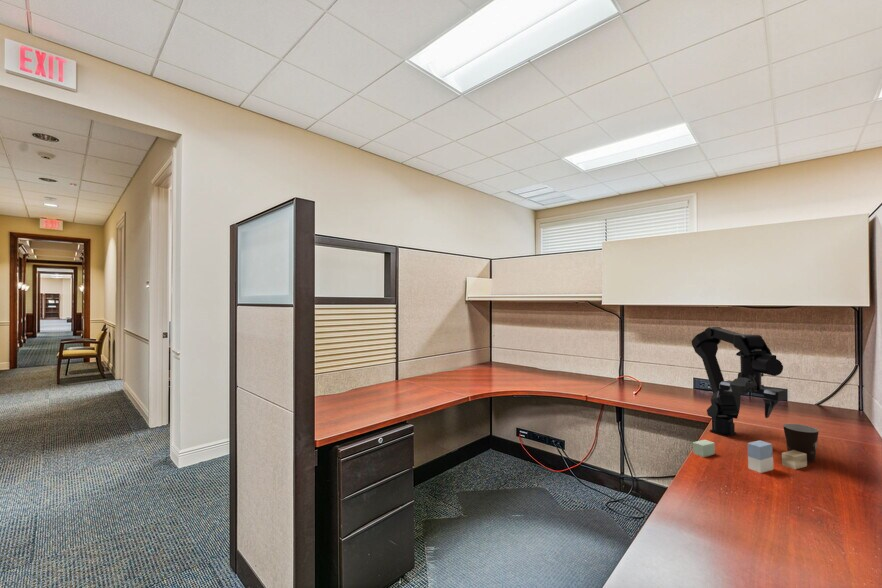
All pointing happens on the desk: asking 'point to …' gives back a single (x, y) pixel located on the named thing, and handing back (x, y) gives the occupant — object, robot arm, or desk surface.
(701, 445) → the sage block
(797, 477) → the desk surface
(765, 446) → the blue block
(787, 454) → the maple block
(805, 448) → the coffee mug
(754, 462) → the cream block
